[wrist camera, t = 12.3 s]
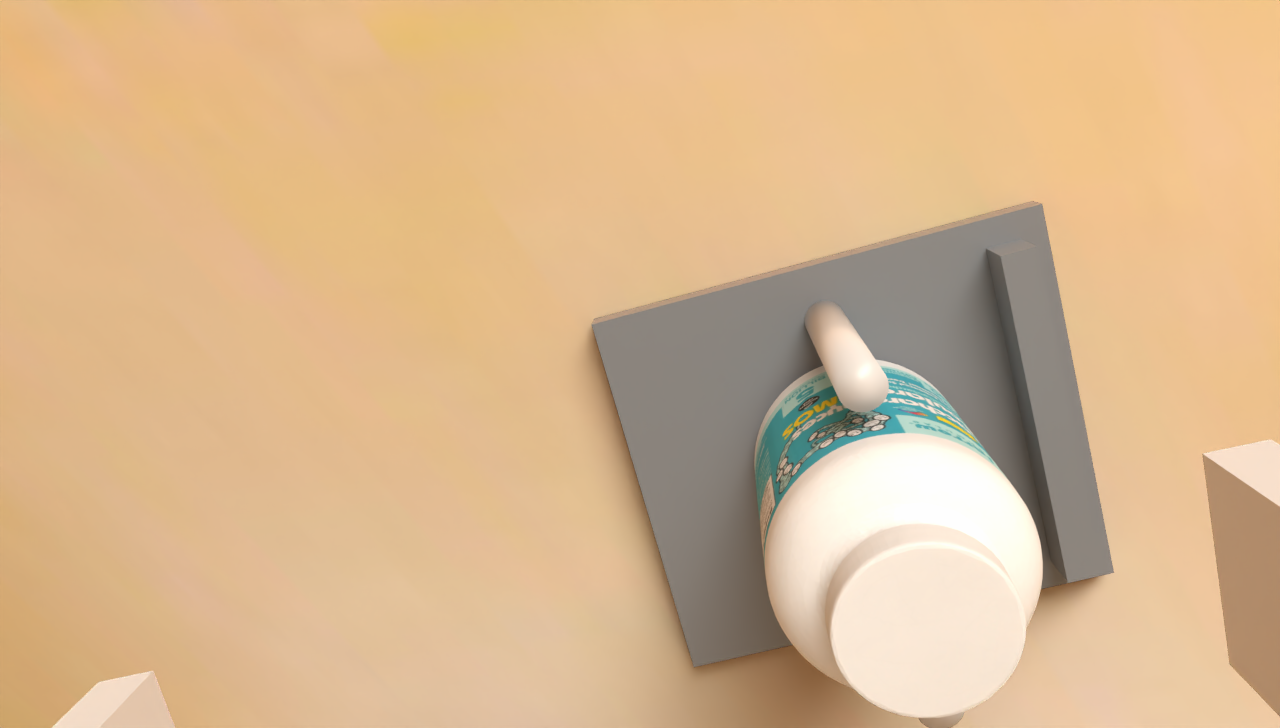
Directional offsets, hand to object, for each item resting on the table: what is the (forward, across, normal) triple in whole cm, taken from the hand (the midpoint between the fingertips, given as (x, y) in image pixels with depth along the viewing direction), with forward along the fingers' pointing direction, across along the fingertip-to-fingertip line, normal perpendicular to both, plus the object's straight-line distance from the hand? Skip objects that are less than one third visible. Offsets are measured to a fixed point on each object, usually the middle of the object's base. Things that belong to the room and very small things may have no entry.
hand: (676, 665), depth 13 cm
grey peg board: (+26, +5, -7) cm, 27 cm away
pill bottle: (+25, +5, -7) cm, 27 cm away
